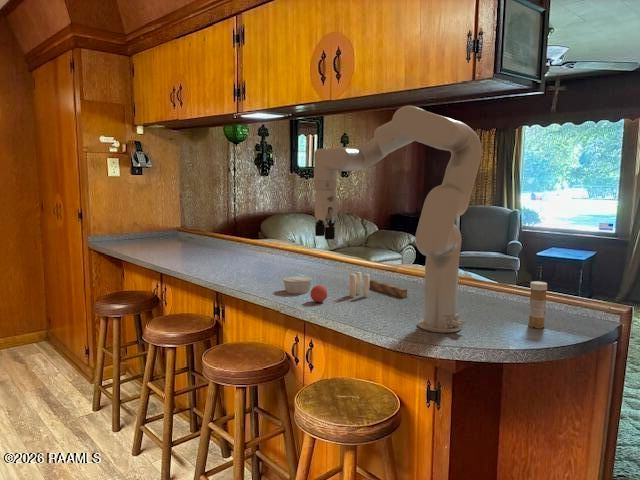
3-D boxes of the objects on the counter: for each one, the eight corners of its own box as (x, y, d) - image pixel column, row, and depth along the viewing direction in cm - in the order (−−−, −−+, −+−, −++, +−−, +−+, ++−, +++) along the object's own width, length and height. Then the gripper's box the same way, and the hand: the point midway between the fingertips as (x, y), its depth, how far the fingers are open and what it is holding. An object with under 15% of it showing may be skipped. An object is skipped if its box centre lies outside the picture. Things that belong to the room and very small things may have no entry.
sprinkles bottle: (532, 323, 148) (534, 280, 146) (547, 326, 145) (550, 282, 143) (525, 326, 145) (527, 282, 143) (540, 329, 142) (543, 284, 140)
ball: (330, 302, 173) (330, 286, 172) (316, 304, 169) (316, 288, 169) (321, 299, 178) (321, 283, 177) (307, 301, 174) (307, 285, 174)
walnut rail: (406, 297, 181) (407, 289, 181) (402, 297, 180) (403, 290, 180) (370, 286, 200) (370, 279, 199) (366, 286, 199) (366, 279, 198)
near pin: (370, 297, 181) (370, 274, 180) (365, 297, 180) (365, 275, 179) (366, 295, 183) (366, 273, 182) (361, 296, 182) (361, 274, 181)
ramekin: (282, 294, 185) (282, 281, 184) (284, 288, 196) (284, 275, 195) (311, 294, 185) (311, 281, 184) (312, 288, 196) (312, 275, 195)
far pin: (362, 294, 185) (362, 272, 184) (357, 295, 184) (357, 273, 183) (358, 293, 187) (359, 271, 186) (353, 293, 186) (353, 272, 185)
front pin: (357, 297, 181) (357, 274, 180) (352, 297, 180) (352, 275, 179) (353, 295, 183) (353, 273, 182) (348, 296, 182) (348, 274, 181)
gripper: (345, 187, 154) (344, 240, 156) (326, 186, 170) (326, 234, 172) (323, 186, 152) (322, 241, 154) (306, 185, 168) (306, 235, 170)
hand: (324, 237), depth 163 cm, fingers open, 9 cm apart
